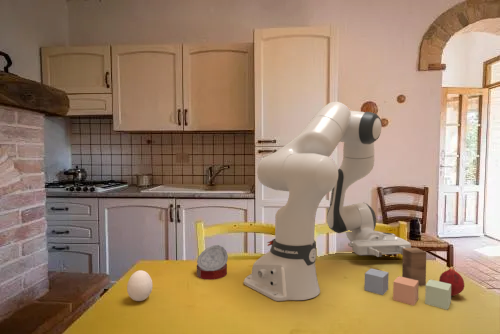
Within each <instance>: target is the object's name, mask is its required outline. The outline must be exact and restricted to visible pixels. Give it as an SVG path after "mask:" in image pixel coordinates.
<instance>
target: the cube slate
mask: <svg viewBox="0 0 500 334" xmlns="http://www.w3.org/2000/svg"><path fill="white" fill-rule="evenodd" d="M388 290H389V271H386V270H385V271H384V270H379V269H375V268H371V267H370V268H369V269H368V270H367V271H365V273H364V291H366V292H369V293H373V294H377V295H380V296H384V294H386V292H387V291H388Z"/></svg>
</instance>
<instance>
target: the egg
mask: <svg viewBox="0 0 500 334" xmlns="http://www.w3.org/2000/svg"><path fill="white" fill-rule="evenodd" d="M126 289H127V294H128V297H129V298H130V299H131V300H133V301H135V302H143V301H145V300H146V299H147V298H149V296H150V295H151V293H152V290H153V280H152V277H151V276H150V274H149V273H148V272H147V271H145V270H142V269H141V270H140V269H139V270H137V271H134V272H133V273H132V274H131V276H130V278H129V279H128V281H127V286H126Z"/></svg>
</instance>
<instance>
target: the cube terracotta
mask: <svg viewBox="0 0 500 334" xmlns="http://www.w3.org/2000/svg"><path fill="white" fill-rule="evenodd" d="M392 284H393V286H392V287H393V288H392V290H393V291H392V293H393V294H392V295H393V296H392V299H393V301H396V302H400V303H403V304H407V305H410V306H416V303H417V302H418V300H419V287H420V286H419V281H418V280H414V279H409V278H405V277H402V276H396V278H395V279H394V280H393V282H392Z"/></svg>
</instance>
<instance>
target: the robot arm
mask: <svg viewBox="0 0 500 334" xmlns="http://www.w3.org/2000/svg"><path fill="white" fill-rule="evenodd" d="M381 133H382V119H381V118H380V116H379V115H378V113H375V112H372V111H365V112H364V111H358V110H350V108H349V107H348V106H347V105H346V104H344V103H343V102H340V101H331V102H328V103H327V104H326V105H324V106H323V107H322V108H321V109H319V111H317V112H316V113H315V115H313V117H312V119H310V121H309V122H308V123H307V125H306V126H305V127H304V128H303V130H302V131H301V132H300V133H299V134H298V135H297V136H295V138H293V139H292V140H290V141H289V142H288V143H286V144H285V145H284V146H283V147H281V148H280V149H278V150H276V151H275V152H273V153H270V154H269V155H265V157H262V159H260V161H259V163H258V165H257V170H256V173H257V175H256V176H257V179H258V180H259V182H260V183H261V185H262V186H264V187H267V188H270V189H272V190H275V191H282V192H289V194H288V198H287V201H286V204H284V205H283V206H281V207H280V208H279V209H278V210H277V211H276V213H275V220H274V221H275V223H274V224H275V226H274V229H275V232H274V235H275V236H274V238H273V239H272V240H269V241H267V242H266V243H267V244H266V245H267V246H268V247H269V246H271V247H270V250H269V251H268V252H267V253H265V254H263V255H261V256H260V257H259V258H258V259H257V260H255V262H254V263H253V265H252V269H251V274H250V273H249V275H247V276H246V277H245V278H244V280H243V285H245V286H247V287H249V288H251V289H253V290H254V291H256V292H258V293H260V294H262V295H264V296H266V297H267V298H269V299H271V300H272V301H275V302H284V301H305V300H309V299H313V298H315V297H318V295H319V294H320V293H321V289H320V285H319V281H318V276H317V270H316V269H317V268H316V261H317V260H316V258H317V242H316V240H315V233H316V232H315V230H316V228H315V227H316V215H317V211H318V208H319V205H320V203H321V202H322V200H323V199H324V197H325V196H326V195H327V194H329V193H330V192H331V194H330V202H329V208H328V211H327V214H326V222H327V223H326V224H327V226H328V228H329V229H330V230H331V231H333V232H334V233H337V234H343V233H345V234H346V238H347V239H348V240H349V241H350V242H348V243H347V246H348V247H350V248H351V250H352V251H353V253H355V255H358V256H376V257H377V258H379V257H383V255H399V254H400V255H401V256H403V248H412V245H411V244H412V243H411V242H409V241H408V240H406V239H404V238H401V237H398V236H396V234H394V233H391V232H382V231H378V230H375V229H376V227H377V217H376V212H375V210H374V209H373V208H372V207H371V206H370V205H369V204H368V203H366V202H359V203H354V204H351V205H350V204H349V205H345V206H344V202H345V197H346V191H347V190H348V188H349V187H351V186H352V185H353V184H354V183H356V182H358V181H359V180H361V179H363V178H365V177H366V176H368V175H369V174H370V173H371V172H372V171H373V168H374V166H375V144H374V143H375V142H376V141H378V139H379V137H380V136H381ZM339 143H343V149H342V152H343V154H342V155H343V156H342V157H343V158H342V162H341V164H340V166H339V168H338V165H337V164H336V161H335V160H334V159H333V158H332V157H330V156H331V155H332V154H333V152H334V151H335V149H336V148H337V147H338V145H339ZM348 230H350V231H352V232H346V231H348Z"/></svg>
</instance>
